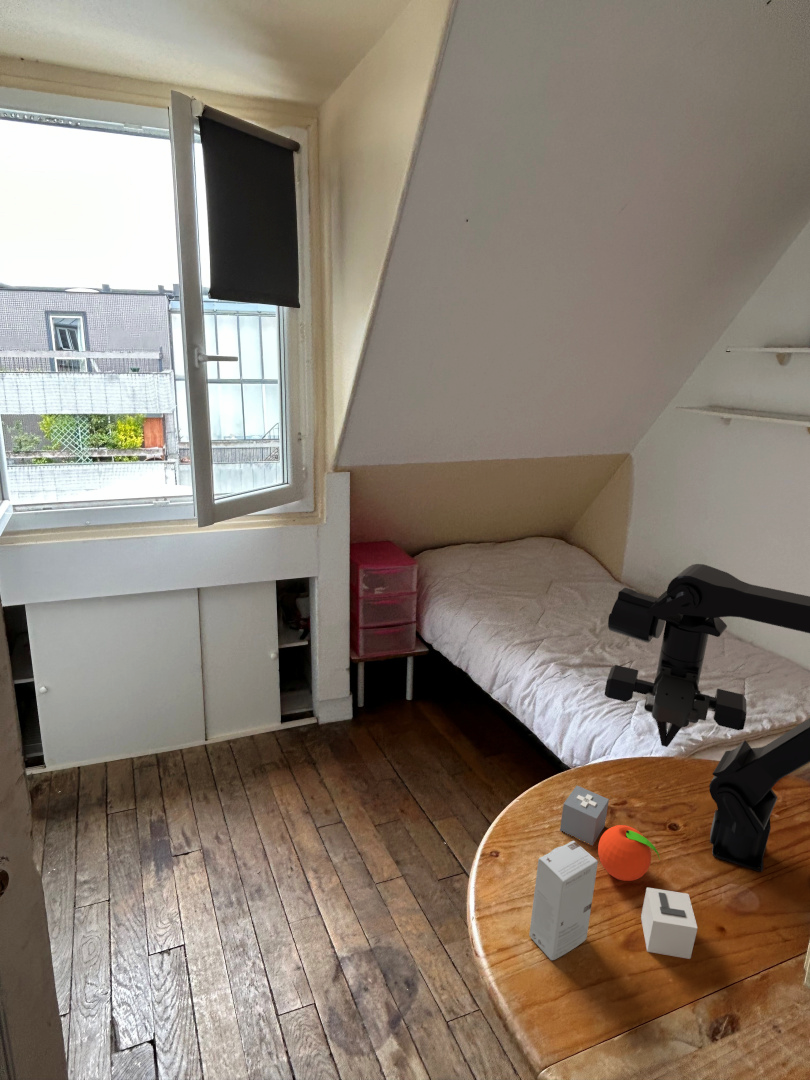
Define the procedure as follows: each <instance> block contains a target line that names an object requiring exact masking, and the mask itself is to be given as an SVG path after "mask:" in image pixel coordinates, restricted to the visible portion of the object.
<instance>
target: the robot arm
mask: <svg viewBox="0 0 810 1080" xmlns="http://www.w3.org/2000/svg"><path fill="white" fill-rule="evenodd" d="M617 595H618V596H617V598H616V600H615V601H614V604H613V607H612V609H611V612H610V613H609V614H608V621H607V626H608V630H609V631H610V632H613V633H617V634H619V635H622V636H625V637H628V638H632V639H634V640H637V641H641V642H643V643H647V644H648V643H650V642H651V641H652V640H653V639H659V638H660V636H661V635H662V633H663V636H662V641H661V647H660V653H659V657H658V664H657V668H656V675H655V677H654V681H653V682H652V681H647V680H643V679H638V676H639V670H638V669H634V668H630V667H626V666H621V665H618V664H615V665H613V666H612V667H610V670H609V673H608V676H607V679H606V684H605V690H604V696H605V697H607V698H608V699H613V700H617V701H621V702H625V703H627V702H628V701H631V700H632V699H633V697H634V693H637V694H642V695H645V697H644V698H645V703H644V705H643V706H644V707H643V709H644V710H645V712H649V713H651V716H652V718H653V719H654V720H655V722H656V725H657V729H658V734H659V739H660V743H661V746H662V747H666V748H668V747H669V745H670V744H671V743H672V741H673V740H674V739H675V738H676V735H678V733H679V731H681V729H682V728H687V727H688V726H689V725H690V723H691V724H697V723H699V720H700V721H706V720H707V717H708V716H707V715H708V712H709V711H710V712H714V714H713V720H714V721H715V723H716V724H717V725H718V726H719V727H723V728H728V729H730V730H731V729H732V730H734V731H735V730H736V731H743V730H744V727H745V724H746V719H747V699H746V698H745V696H744V694H743V693H738V692H734V691H730V690H725V689H721V688H716V691H715V695H714V696H711V695H709V694H704V693H702V692H701V690H699V689H700V686H699V685H700V679H701V676H702V675H701V673H702V668H703V665H704V660H705V655H706V650H707V645H708V641H709V640H708V639H709V636H713V637H715V638H719V637H720V636H721V635H722V634H723V633H724V632H725V631H726V629H727V628H728V625H727V623H726V622H725V621H724V620H722V618H727V617H728V618H730V617H732V618H740V619H741V618H742V619H747V620H750V621H755V622H760V623H763V624H767V625H772V626H777V627H780V628H781V627H782V628H784V629H788V630H792V631H793V630H794V631H797V632H802V633H806V634H810V596H809V595H806V594H799V593H796V592H795V593H794V592H790V591H785V590H780V589H775V588H771V587H766V586H761V585H755V584H751V583H749V582H745V581H742V580H740V579H738V578H737V577H735V576H734V575H733V574H730V573H729V572H727V571H724V570H721V569H718V568H715V567H712V566H709V565H707V564H705V563H695V564H694V563H693V564H691V565H689V566H688V567H685V569H683V570H682V571H681V572H679V573H678V574H677V575H676V576H675V577H674V578H672V580H671V581H670V582H669V583H668V586H667V590H665V591H664V592H663V593H661V595H660V596H659V597H655V596H652V595H649V594H645V593H641V592H639V591H636V590H634V589H631V588H628V587H624V588H623V587H622V589H620V591H618V594H617ZM663 631H664V632H663ZM668 724H669V726H668ZM809 763H810V717H809V718H807V719H806V720H804V721H802V722H801V723H800V724H797V725H796V726H795V727H793V728H792V729H790V730H788V731H786V732H784V733H783V735H780V736H779V737H777V738H775V739H774V740H772V741H771V742H769V743H767V744H766V745H763V746H761V747H752V746H750V743H748V741H746V740H745V739H744V740H743V741H742V742H740V744H739V745H738V746H736V747H735V748H734V749H731V750H725V751H724V753H723V755H722V757H721V758H720V760H719V762H718V763H717V765H716V767H715V768H714V770H713V772H712V776H713V778H711V779H712V780H711V781H710V783H709V795H710V797H711V799H712V800H713V801H714V803H715V804H716V807H717V809H716V810H715V811H714V815H713V819H712V824H711V827H710V834H709V836H710V837H709V842H710V844H712V856H713V857H714V858H716V859H720V860H723V861H725V862H728V863H732V864H735V865H738V866H740V867H744V868H747V869H750V870H753V871H757V872H760V873H762V872H763V870H764V855H765V851H766V847H767V843H768V840H769V836H770V832H771V815H772V812H773V811H774V808H775V805H776V803H777V800H778V796H777V794H776V793H775V791H774V790H773V789H772V788H773V787H774V786H775V785H776V784H777V783H778V782H779V781H780V780H781V779H784V777H786V776H788V775H790V774H791V773H793V772H795V771H797V770H799V769H800V768H802V767H803V766H806V765H807V764H809Z"/></svg>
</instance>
